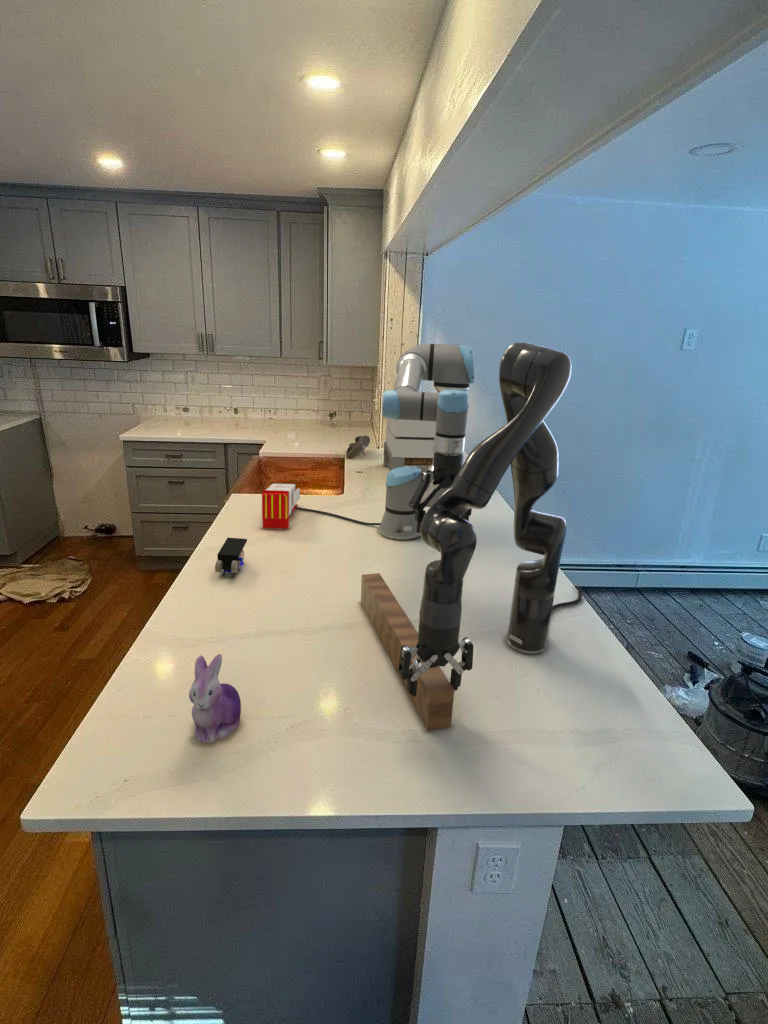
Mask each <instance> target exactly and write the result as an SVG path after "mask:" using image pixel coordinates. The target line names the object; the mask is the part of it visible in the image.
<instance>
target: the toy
mask: <svg viewBox="0 0 768 1024" xmlns="http://www.w3.org/2000/svg"><path fill="white" fill-rule="evenodd" d="M300 499H301V490H300V487H298V488H297V489H296V484H295V483H272V484H270V485H269V486H268V488H266V489H262V491H261V519H262V529H282V530H283V529H284V530H285V529H286V530H289V529H290V515H291V513H294V512H295V510H297V509H296V507H298V504H297V503H298V502H299V501H300Z"/></svg>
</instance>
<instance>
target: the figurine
mask: <svg viewBox="0 0 768 1024" xmlns="http://www.w3.org/2000/svg"><path fill="white" fill-rule="evenodd" d="M222 663H223V655H222V653H218V654H217V655H215V656H214V657H213V659H212V660H211V662H210V663H209V665H208V664H207V661H206V659H205V657H204V656H203V655H201V654H200V655H199V656H197V658H196V659H195V663H194V680H193V682H192V684H191V686H190V688H189V691H188V692H189V693H188V699H189V700H190V702H191V703H192V704H193V706H192V708H191V717H192V720H193V723H194V727H195V730H194V736H193V737H194V740H196V741H197V742H201V743H204V744H211V743H214V742H216V741H218V740H222V739H225V738H227V737H228V736H230V735H231V734H232V733H233V732H235V730H237V729H238V728H239V726H240V723H241V714H242V701H241V697H240V694H239V692H238V690H237V689H236V688H235V687H234V686H233V685H232V684H230V683H220V680H219V674H220V670H221V667H222Z"/></svg>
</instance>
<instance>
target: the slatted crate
mask: <svg viewBox="0 0 768 1024" xmlns="http://www.w3.org/2000/svg"><path fill="white" fill-rule="evenodd" d="M385 423H386V428H385V438H384V442H383V466H384V467H388V468H389V472H390V471H391V470H393V469H395V468H399V467H405V466H406V467H417V466H418V467H429V466H430V465H432V463H433V450H434V437H435V423H436V422H435V421H420V420H400V419H398V420H395V419H390V418H385Z"/></svg>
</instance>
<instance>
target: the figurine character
mask: <svg viewBox="0 0 768 1024" xmlns="http://www.w3.org/2000/svg"><path fill="white" fill-rule="evenodd" d="M247 542H248V538H240V537H226V539H225V541H224V543H223V544H222V546H221V547H220V549H219V551H218V552H217V560H216V562H215V564H214V572H215V573H221V577H222V578H224V577H225V576H226V574H227V573H230V574H231V573H232V574H231V578H234V577H235V575H236V573H237V572H239V571H240V567H242V566H243V565H244V564H245V562H244V558H245V551H244V547H245V546H246V544H247Z"/></svg>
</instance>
